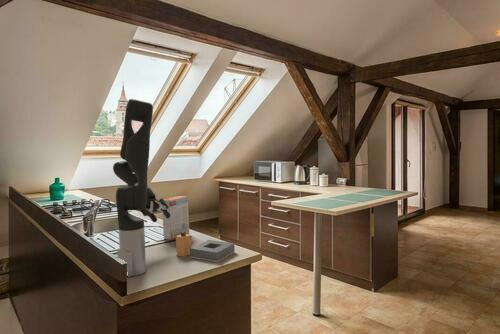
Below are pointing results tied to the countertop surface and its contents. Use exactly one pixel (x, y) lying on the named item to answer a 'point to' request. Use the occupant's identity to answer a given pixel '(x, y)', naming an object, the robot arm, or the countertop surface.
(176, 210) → the cracker box
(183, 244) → the plug
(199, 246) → the socket block
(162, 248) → the countertop surface
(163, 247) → the countertop surface
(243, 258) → the countertop surface
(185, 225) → the flask
